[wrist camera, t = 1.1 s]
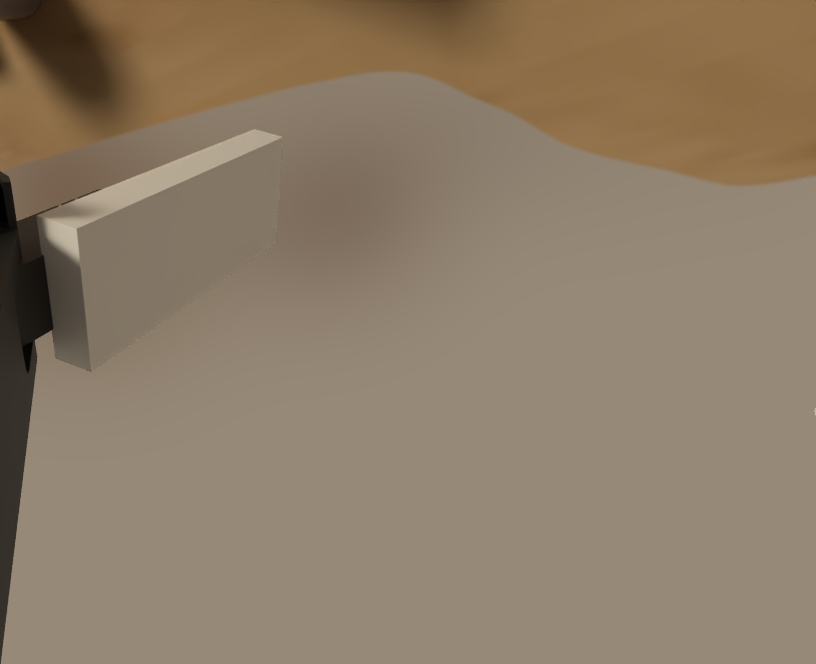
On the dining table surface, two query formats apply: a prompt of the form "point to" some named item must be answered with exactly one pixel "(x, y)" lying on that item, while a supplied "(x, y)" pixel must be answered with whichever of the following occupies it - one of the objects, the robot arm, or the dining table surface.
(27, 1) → the lens
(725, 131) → the dining table surface
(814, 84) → the dining table surface
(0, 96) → the dining table surface
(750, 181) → the dining table surface
